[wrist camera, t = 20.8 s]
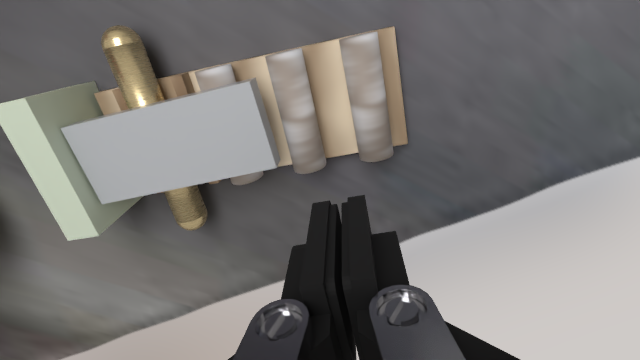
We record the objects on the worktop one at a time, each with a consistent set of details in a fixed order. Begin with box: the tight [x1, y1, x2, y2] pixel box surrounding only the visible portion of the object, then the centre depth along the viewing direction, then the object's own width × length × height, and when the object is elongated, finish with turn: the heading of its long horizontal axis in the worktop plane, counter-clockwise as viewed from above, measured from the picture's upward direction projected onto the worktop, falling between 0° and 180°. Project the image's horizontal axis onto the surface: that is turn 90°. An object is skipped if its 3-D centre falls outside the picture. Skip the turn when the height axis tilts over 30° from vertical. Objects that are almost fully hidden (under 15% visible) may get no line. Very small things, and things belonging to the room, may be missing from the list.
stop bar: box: [0, 81, 143, 241], centre depth 32 cm, size 3×12×8 cm, turn 12°
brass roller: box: [101, 25, 207, 230], centre depth 32 cm, size 3×19×3 cm, turn 12°
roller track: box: [94, 27, 408, 193], centre depth 32 cm, size 27×10×4 cm, turn 102°
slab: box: [60, 77, 280, 204], centre depth 29 cm, size 16×7×2 cm, turn 104°
